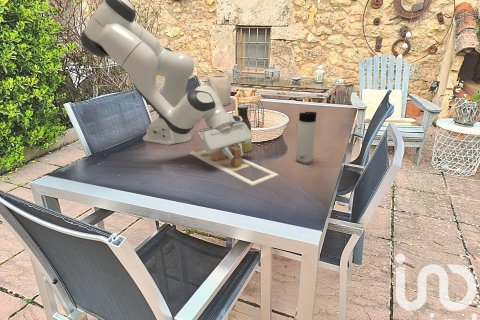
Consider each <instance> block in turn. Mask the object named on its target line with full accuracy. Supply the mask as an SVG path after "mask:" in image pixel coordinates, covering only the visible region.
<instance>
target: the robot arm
mask: <svg viewBox="0 0 480 320" xmlns="http://www.w3.org/2000/svg"><path fill="white" fill-rule="evenodd" d="M136 15H137V12H136V9H135V8H134V6H133V5H132V3H131V2H130V1H129V0H104V1H103V2H102V3H100V5H99V6H98V7H97V9H96V10H95V11H94V12H93V13H92V17H91V18H90V20H89V21H88V23H87V25H86V27H85V29H84V30H82V33H81V35H80V42H81V45H82V46H83V48H84V49H86V51H87V52H89V53H90V54H92V55H93V56H96V57H98V58H104V57H105V58H106V57H110V58H111V59H112V60H113V61H114V62H115V63H116V64H118V65H119V66H120V67H121V68H122V69H124V71H126V73H127V74H128V76H130V78H131V80H132V82H133V87H134V89H135V90H136V92H137V93H138V95H140V96H141V97H142V98H143V100H144V101H146V103H147V104H148V105H149V106H150V107H151V108H152V109H153V111H154V112H156V115H158V117H157V118H156V119H154V120H153V121H152V122H151V123H149V125H148V127H147V132H146V134H145V135H143V136H142V141H144V142H150V143H154V144H155V143H156V144H160V145H166V146H170V145H174V144H180V143H187V142H188V141H190V140H191V139H193V138H192V137H193V136H192V133H191V131H192V130H193V129H194V127H195V125H197V124H198V123H199V122H200V120H202V119H203V120H204V122H205V124H206V126H207V127H205V128H201V129H200V130H199V131H198V138H199V139H200V141H201V144H202V147H203V149H205V151H206V152H207V153H208V154H210V153H214V152H217V151H221V150H222V151H223V153H224V154H225V155H227V156H228V157H229V159H230V160H231V159H234V158H235V155H234V153H231V150H229V149H231V148H234V147H238V148H241V157H243V156H244V153H243V152H242V144H245V143H248V142H249V141H250V140H251V141H252V139H253V134H252V131H251V132H250V130H249V128H248V127H247V125H246V124H245V123H243V122H242V121H243V119H242V117H241V116H238V115H235V114H234V115H232V114H229V113H228V112H227V111H226V110H225V108H224V107H223V106H222V103H221V101H220V99H219V97H218V96H217V94H216V93H215V91H214V90H213V89H212V88H211V87H210V86H208V85H207V84H201V85H199V86H197V87H196V88H195V89H194V90H190V91H188V92H187V85H188V81H189V79H190V77H191V76H192V75H193V74H194V70H195V62H194V60H193V59H192V57H191V56H190V55H188V54H185V53H184V52H180V51H173V50H172V51H171V50H168V49H166V48H164V47H163V46H162V44H161V43H160V42H159V40H158V38H157V37H156V36H155V35H153V34H152V33H151V32H150V31H148V29H146V28H144V27H143V26H141V25H140V24H139V23H138V22H136V21H135V19H136ZM157 76H159V77H164V83H163V87H162V88H161V90H160V92H159V90H158V89H157V85H156V77H157Z"/></svg>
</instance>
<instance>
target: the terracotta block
mask: <svg viewBox="0 0 480 320" xmlns="http://www.w3.org/2000/svg"><path fill="white" fill-rule="evenodd" d="M225 155H226V154H224V153H223V151H222V150H221V151H217V152H214V153H211V158H213V159H215V160H220V159H223V158H225Z"/></svg>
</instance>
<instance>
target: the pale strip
mask: <svg viewBox="0 0 480 320" xmlns="http://www.w3.org/2000/svg"><path fill="white" fill-rule="evenodd" d="M193 152H195V153H197V154H199V155H201V156H203V157H205V158H207V159H209V160H211V161H213V162H215V163H217V164H219V165H221V166H223V167H225V168H227V169H229V170H231V171H233V172H236V171H240V170H243V169H245V168H249V167H250V165H248V164H246V163H244V162H241V158H242V156H241V148H238V147H235V146H234V147H231V148H230V152H231V153H234V155H235V158H234V159H231V160H230V159H229V157H228V156H227V155H226V154H225V158H223V159H220V160H215V159H213V158H211V153H210V154H208V153H207V152H206V151H205V149H204V148H200V149H197V150H194V151H193Z"/></svg>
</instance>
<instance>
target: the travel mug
mask: <svg viewBox="0 0 480 320" xmlns="http://www.w3.org/2000/svg"><path fill="white" fill-rule="evenodd" d="M317 114H318V113H317V112H316V111H304V112H299V116H298V117H299V118H298V126H297V127H298V128H297V140H296V141H297V143H296V155H295V161H296V163H298V164H301V165H310V164H312V163H313V157H314V147H315V145H314V144H315V134H316V126H317V125H316V123H317Z"/></svg>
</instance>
